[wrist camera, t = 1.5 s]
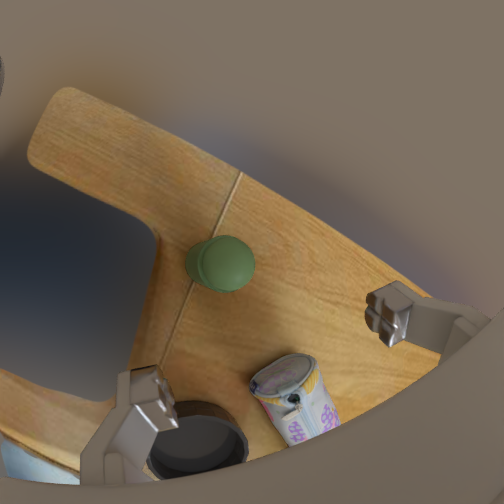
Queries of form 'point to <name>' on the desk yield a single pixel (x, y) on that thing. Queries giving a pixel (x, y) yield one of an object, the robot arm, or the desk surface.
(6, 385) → the desk surface
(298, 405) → the pencil case
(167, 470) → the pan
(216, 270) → the green dome-topped cylinder
